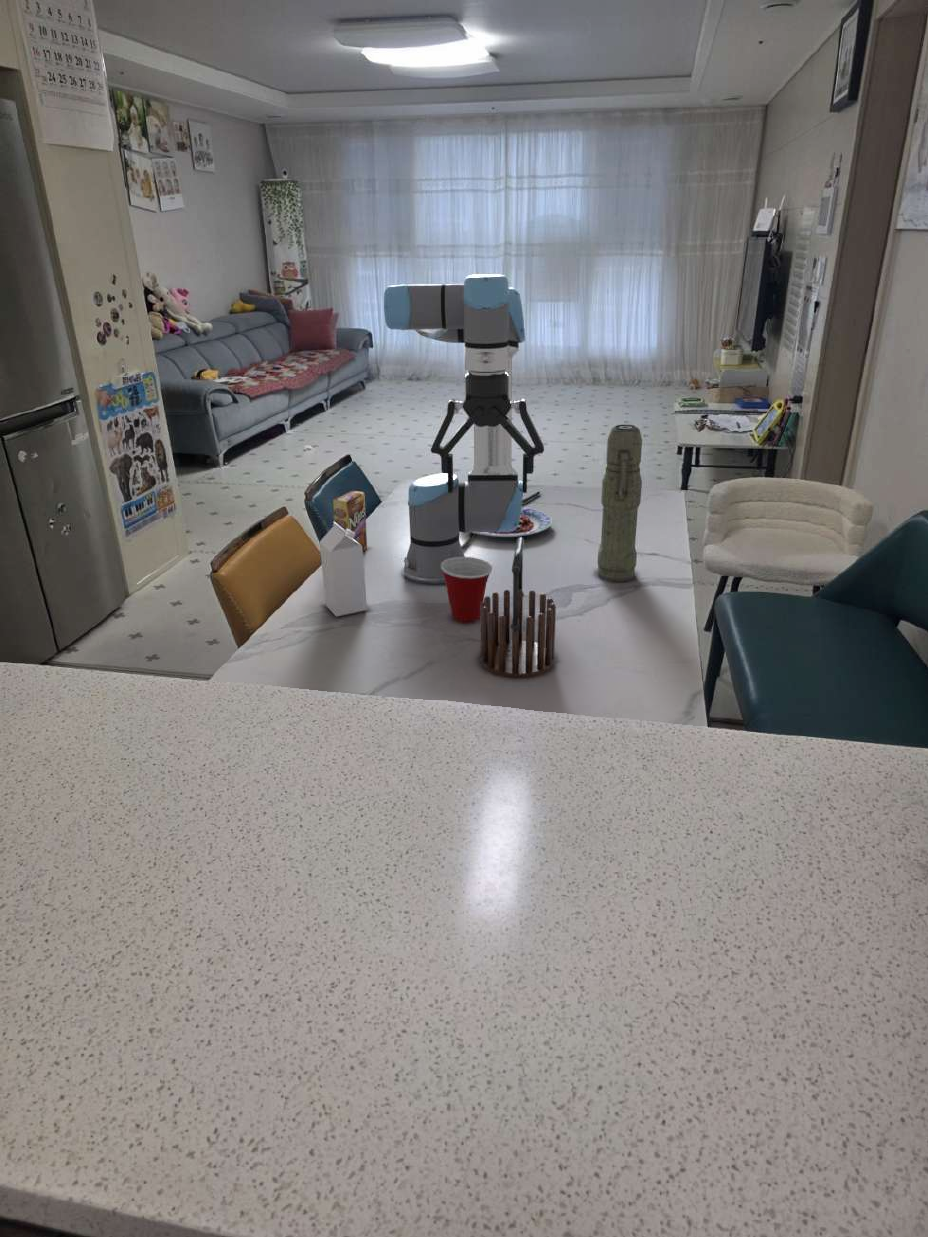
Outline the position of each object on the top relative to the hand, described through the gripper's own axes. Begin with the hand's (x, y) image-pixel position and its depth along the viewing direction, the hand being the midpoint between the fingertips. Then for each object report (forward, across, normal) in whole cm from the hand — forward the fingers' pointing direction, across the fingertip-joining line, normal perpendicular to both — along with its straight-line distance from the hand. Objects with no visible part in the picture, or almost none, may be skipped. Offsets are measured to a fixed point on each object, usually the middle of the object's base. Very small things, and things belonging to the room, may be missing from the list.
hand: (487, 490), depth 151 cm
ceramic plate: (+33, +1, +70) cm, 77 cm away
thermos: (+32, +28, +36) cm, 56 cm away
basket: (+20, -1, -8) cm, 21 cm away
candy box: (+32, -38, +49) cm, 70 cm away
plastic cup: (+32, -5, +11) cm, 34 cm away
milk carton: (+32, -32, +14) cm, 47 cm away
